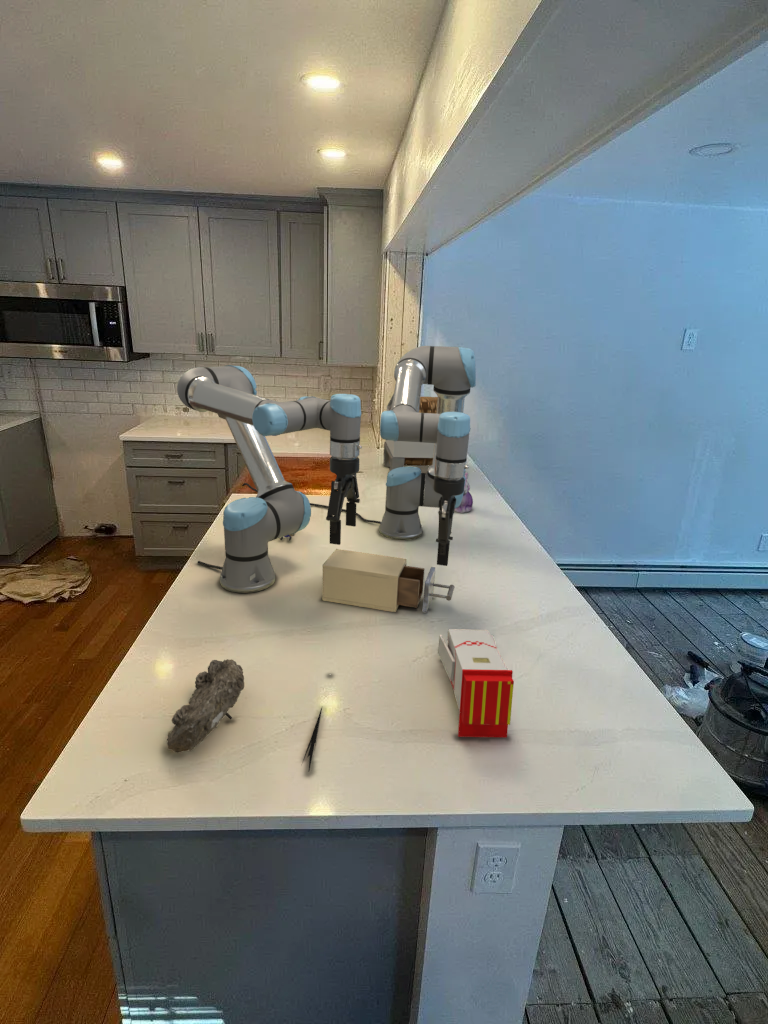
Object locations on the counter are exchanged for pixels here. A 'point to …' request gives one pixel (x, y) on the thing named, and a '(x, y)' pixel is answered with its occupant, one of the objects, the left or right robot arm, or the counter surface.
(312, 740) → the feather
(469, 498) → the figurine
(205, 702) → the fossil
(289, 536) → the figurine character
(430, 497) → the right robot arm
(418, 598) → the drawer
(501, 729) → the toy
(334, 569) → the cabinet
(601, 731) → the counter surface
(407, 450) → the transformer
